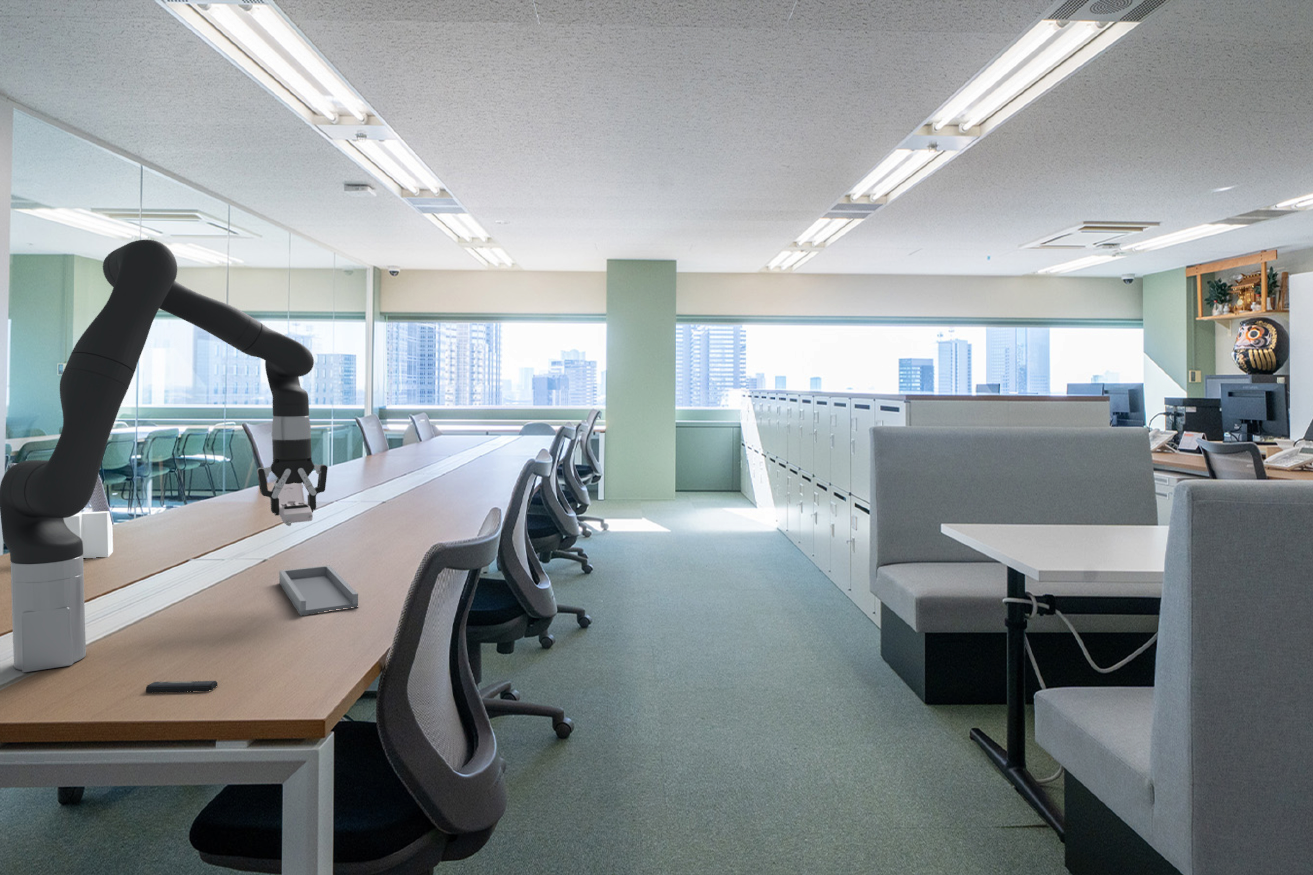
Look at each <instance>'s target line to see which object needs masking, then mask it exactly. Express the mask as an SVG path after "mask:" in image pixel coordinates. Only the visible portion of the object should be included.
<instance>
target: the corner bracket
mask: <svg viewBox="0 0 1313 875" xmlns="http://www.w3.org/2000/svg"><path fill="white" fill-rule="evenodd" d="M64 523H65V524H66V526H67V527H68V529H69V530H70V531H71V532H73V533H74V534H75V535H77V536H78V537H80V538H81V540H82V542H83V558H93V559H97V558H96V557H107V558H109V557H110V556H111V555H112V554H113V552H114V538H113V537H114V536H113V534H114V533H113V532H114V531H113V530H114V529H113V522H112V518H111V513H110V510H107V511H106V510H104V511H87V512H86V511H85V512H82V511H80V512H79V513H77V514H75V515H73V516H71V517H67V518H64Z"/></svg>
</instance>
